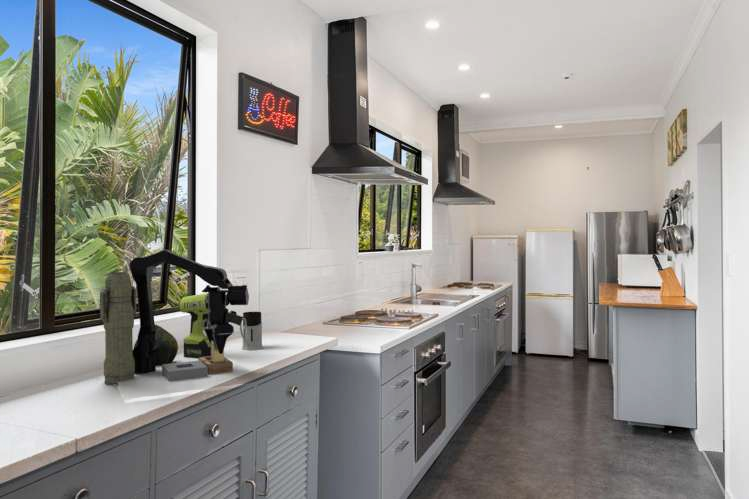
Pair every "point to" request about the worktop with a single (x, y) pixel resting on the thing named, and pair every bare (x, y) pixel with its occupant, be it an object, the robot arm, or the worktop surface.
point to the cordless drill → (196, 325)
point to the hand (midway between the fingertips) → (217, 351)
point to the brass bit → (216, 354)
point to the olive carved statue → (118, 327)
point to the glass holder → (251, 331)
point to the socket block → (184, 370)
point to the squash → (165, 348)
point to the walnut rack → (217, 365)
